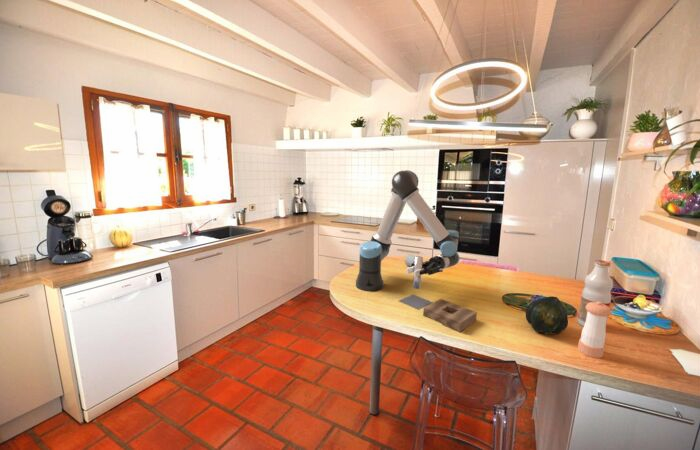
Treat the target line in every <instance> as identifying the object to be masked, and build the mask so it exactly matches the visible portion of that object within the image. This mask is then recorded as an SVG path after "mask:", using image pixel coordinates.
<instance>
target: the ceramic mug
mask: <svg viewBox="0 0 700 450" xmlns="http://www.w3.org/2000/svg"><path fill="white" fill-rule="evenodd" d="M415 256H416V255H414V254H412V253H409V254H407V255H406V256H405V258H404V263H405V265H407V266H409V267H411V264H412V263H414V262H415Z"/></svg>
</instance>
